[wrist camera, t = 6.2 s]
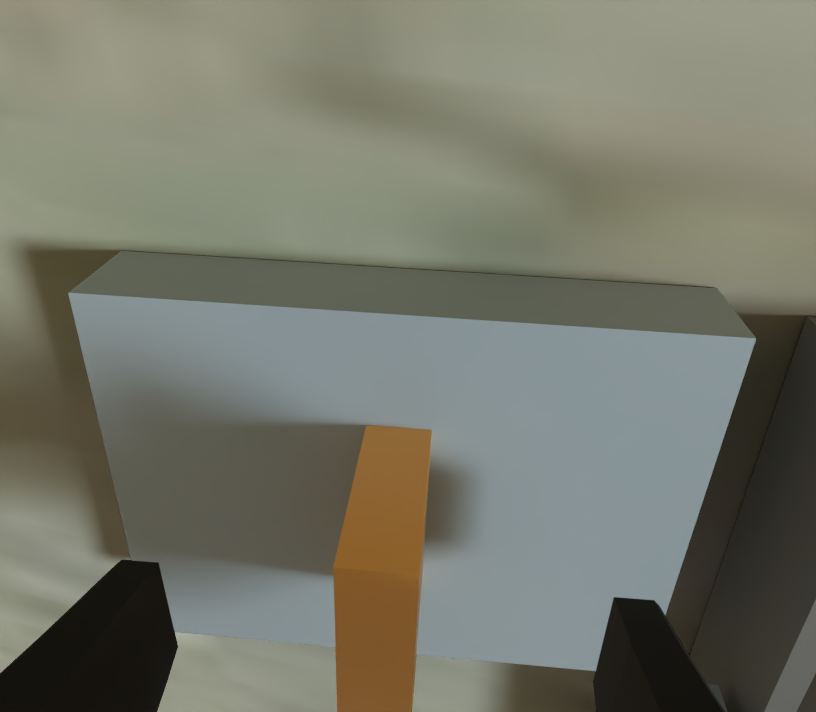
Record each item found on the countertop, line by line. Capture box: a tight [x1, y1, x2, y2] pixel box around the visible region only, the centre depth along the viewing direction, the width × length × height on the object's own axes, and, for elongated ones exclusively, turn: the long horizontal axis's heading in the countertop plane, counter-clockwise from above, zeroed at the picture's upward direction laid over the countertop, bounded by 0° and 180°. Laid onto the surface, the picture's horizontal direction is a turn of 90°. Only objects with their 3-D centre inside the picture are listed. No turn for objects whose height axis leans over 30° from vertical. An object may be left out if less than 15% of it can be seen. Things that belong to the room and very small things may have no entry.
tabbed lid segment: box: [68, 251, 756, 712], centre depth 13 cm, size 8×11×5 cm
